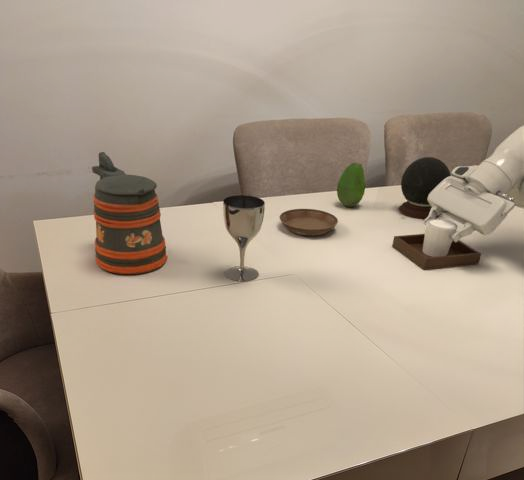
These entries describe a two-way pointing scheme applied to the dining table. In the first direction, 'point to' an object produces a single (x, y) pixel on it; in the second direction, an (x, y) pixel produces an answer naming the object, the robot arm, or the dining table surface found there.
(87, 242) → the dining table surface
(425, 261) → the tray
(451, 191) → the robot arm
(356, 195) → the avocado
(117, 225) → the beer stein
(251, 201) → the wine glass
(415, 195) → the black ball on stand
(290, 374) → the dining table surface
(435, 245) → the white cup
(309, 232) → the saucer
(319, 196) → the dining table surface
